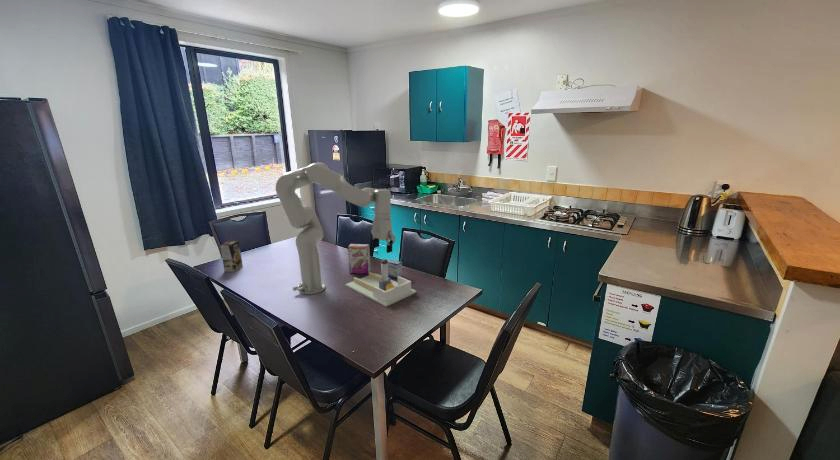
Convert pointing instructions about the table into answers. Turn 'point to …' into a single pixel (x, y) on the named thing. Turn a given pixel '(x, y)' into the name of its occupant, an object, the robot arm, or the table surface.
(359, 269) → the candy bar box
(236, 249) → the coffee box
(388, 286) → the ball
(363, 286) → the white tray
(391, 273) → the medicine box
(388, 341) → the table surface
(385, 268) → the kicker
